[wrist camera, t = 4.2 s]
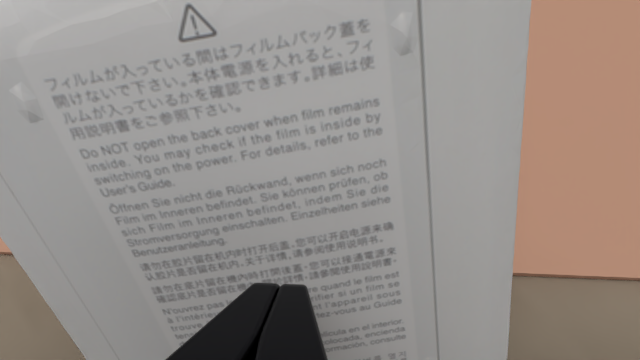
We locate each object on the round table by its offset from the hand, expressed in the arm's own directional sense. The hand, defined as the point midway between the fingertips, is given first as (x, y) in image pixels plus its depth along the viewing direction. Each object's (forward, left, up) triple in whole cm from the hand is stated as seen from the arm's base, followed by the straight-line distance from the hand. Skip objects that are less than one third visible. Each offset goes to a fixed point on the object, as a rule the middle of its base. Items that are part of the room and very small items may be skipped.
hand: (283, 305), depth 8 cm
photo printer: (-1, 0, -7) cm, 7 cm away
